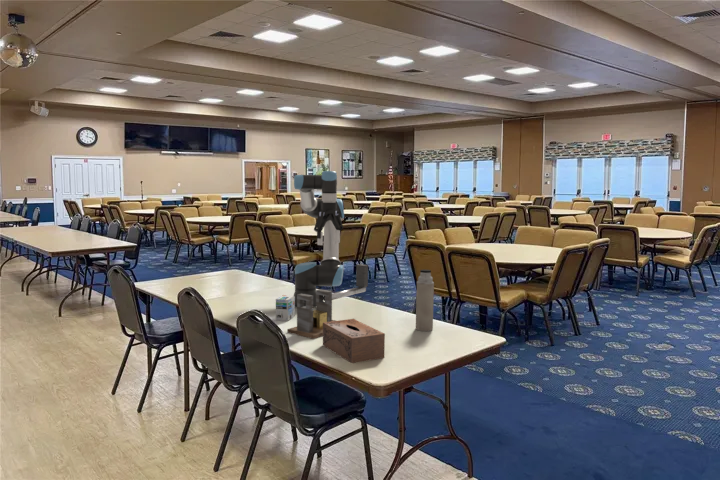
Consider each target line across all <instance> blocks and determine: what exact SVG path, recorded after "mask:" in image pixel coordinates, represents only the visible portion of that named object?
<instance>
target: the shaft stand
mask: <svg viewBox="0 0 720 480" xmlns="http://www.w3.org/2000/svg"><path fill="white" fill-rule="evenodd" d="M332 293H333V291H332V290H327V289H321V288H320V289H316V306H315V307H316V308H315V310H318V311H323V312H327V322H331V321H336V320H335V319H333V312H332V311H333V300H332ZM323 296H325V301H324V300H323ZM304 300H305V301H306V306H304ZM313 311H314V307H313V295H307V294H297V307H296V326H293V327H291V328H287V333H289V334H293V335H297V336H301V337H304V338H305V337H306V338H309V339H317V338H320V337H323V328H322V329H317V326H314V327H313Z"/></svg>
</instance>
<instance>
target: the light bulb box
mask: <svg viewBox="0 0 720 480" xmlns="http://www.w3.org/2000/svg"><path fill="white" fill-rule="evenodd" d="M295 307H296V306H295V296H294V295H290V294H289V295H288V294H287V295H286V294H282V295H280V296H278V297H277V298H275V320H276V321H285V322H289V321H290V320H291V319H293V318H294V317H295V315H296V311H295V310H296V308H295Z"/></svg>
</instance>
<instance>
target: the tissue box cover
mask: <svg viewBox="0 0 720 480" xmlns="http://www.w3.org/2000/svg"><path fill="white" fill-rule="evenodd" d="M385 335H386V334H385V333H384V332H382V331H381V330H378V329H376V328H375V327H372V326H369V325H367V324H365V323H364V322H362V321H359V320H357V319H354V318H348V319H339V320H335V321H331V322H323V336H322V346H323V347H324V348H327V349H328V350H330V351H331V352H333V353H335V354H336V355H338V356H340V357H341V358H343V359H344V360H345V361H347V362H349V363H351V364H355V363H356V364H357V363H362V362H367V361H373V360H378V359H385V343H386V340H385V337H386V336H385Z"/></svg>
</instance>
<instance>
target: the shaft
mask: <svg viewBox="0 0 720 480" xmlns="http://www.w3.org/2000/svg"><path fill="white" fill-rule="evenodd" d="M368 275H369V265H368V264H361V263H360V264H356V274H355V276H356V277H355V278H356V279H355V280H356V282H355V284H356V287H353V288H349V289H346V290H339V291H336V292H332V301H334V300H337V299H342V298H346V297H350V296H353V295H356V294H360V293H365V292H366V291H367V287H368V286H369V284H368V283H369V276H368ZM323 302H325V296H323Z"/></svg>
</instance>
